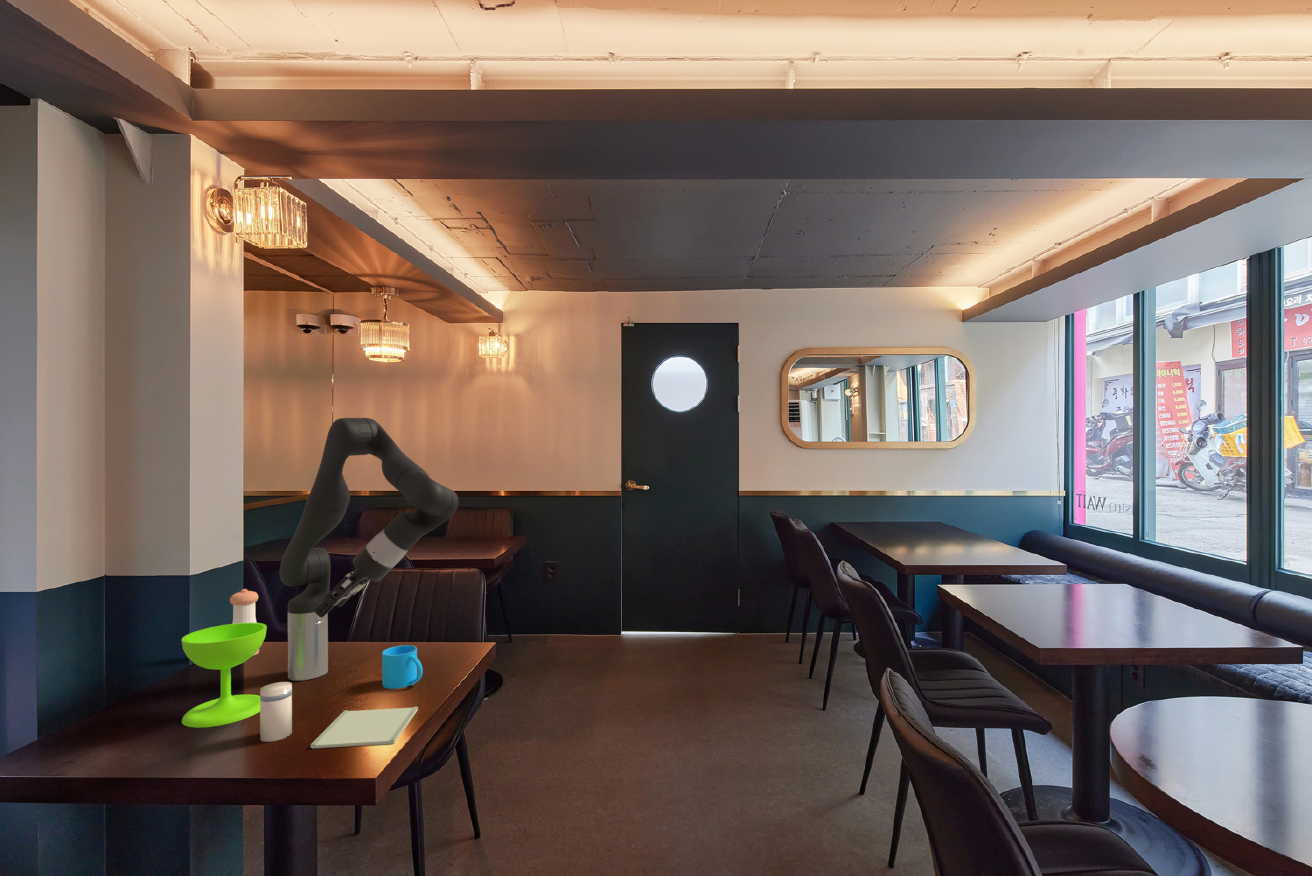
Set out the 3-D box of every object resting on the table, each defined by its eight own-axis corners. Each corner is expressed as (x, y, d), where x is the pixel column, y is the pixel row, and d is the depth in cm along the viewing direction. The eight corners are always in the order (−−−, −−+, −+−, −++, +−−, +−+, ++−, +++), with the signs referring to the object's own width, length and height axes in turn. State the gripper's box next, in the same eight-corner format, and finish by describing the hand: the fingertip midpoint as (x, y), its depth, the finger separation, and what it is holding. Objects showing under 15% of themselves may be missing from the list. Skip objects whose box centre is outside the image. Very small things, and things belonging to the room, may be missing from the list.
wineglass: (219, 697, 148) (219, 622, 148) (282, 697, 147) (282, 622, 147) (162, 727, 132) (162, 643, 132) (233, 728, 131) (232, 643, 131)
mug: (375, 685, 154) (375, 653, 154) (402, 674, 161) (402, 643, 161) (408, 693, 148) (408, 659, 148) (434, 682, 155) (434, 650, 156)
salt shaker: (222, 658, 176) (222, 591, 177) (243, 650, 183) (243, 586, 184) (244, 659, 175) (244, 592, 176) (265, 651, 182) (265, 586, 183)
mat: (344, 714, 137) (344, 710, 137) (417, 710, 138) (417, 706, 138) (310, 748, 121) (310, 744, 121) (394, 743, 122) (394, 739, 122)
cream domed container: (269, 730, 130) (269, 682, 130) (297, 728, 130) (297, 681, 130) (254, 742, 124) (254, 693, 124) (283, 741, 124) (283, 691, 125)
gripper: (380, 538, 140) (328, 590, 139) (355, 547, 126) (298, 605, 125) (404, 560, 141) (353, 612, 140) (382, 572, 127) (325, 630, 125)
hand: (327, 609), depth 132 cm, fingers open, 8 cm apart
